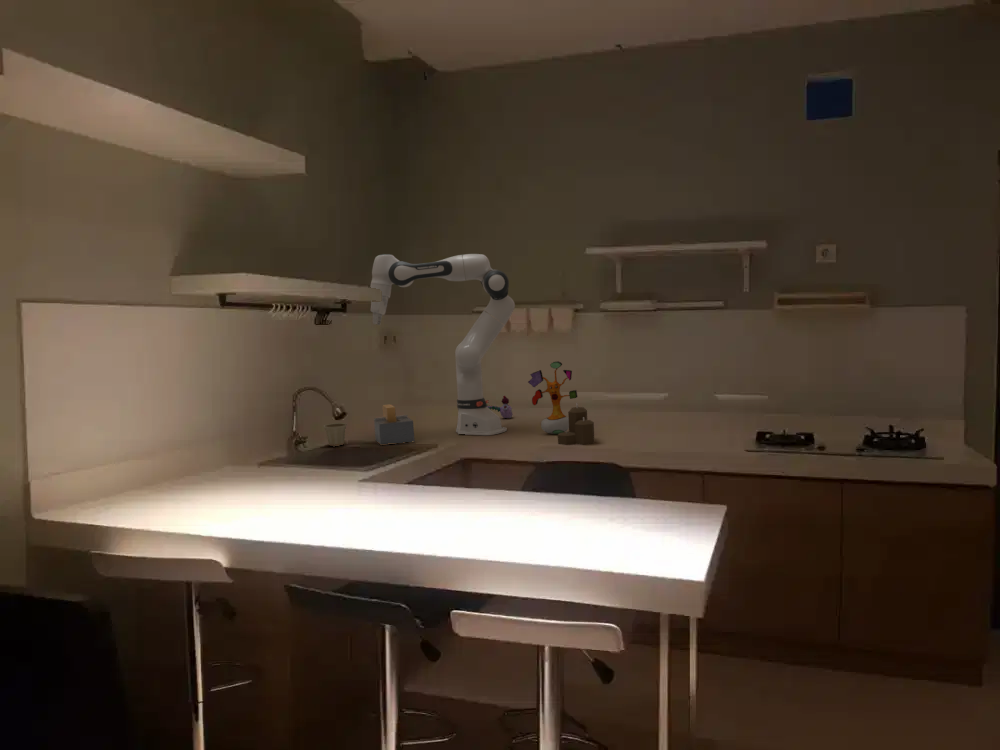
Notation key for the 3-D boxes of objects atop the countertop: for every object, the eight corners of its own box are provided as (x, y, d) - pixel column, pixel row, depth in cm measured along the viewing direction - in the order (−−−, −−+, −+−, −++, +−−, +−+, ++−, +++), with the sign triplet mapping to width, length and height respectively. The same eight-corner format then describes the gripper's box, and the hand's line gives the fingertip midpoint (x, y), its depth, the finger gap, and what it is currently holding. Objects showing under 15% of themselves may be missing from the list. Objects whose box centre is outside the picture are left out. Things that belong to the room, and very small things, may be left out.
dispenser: (375, 441, 353) (374, 418, 352) (408, 437, 358) (406, 414, 357) (380, 446, 342) (379, 422, 341) (414, 442, 346) (412, 418, 345)
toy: (504, 432, 390) (518, 403, 388) (476, 419, 389) (490, 390, 388) (505, 428, 400) (518, 400, 399) (477, 415, 400) (490, 387, 398)
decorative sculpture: (529, 435, 347) (525, 363, 344) (532, 432, 355) (529, 361, 352) (577, 435, 342) (574, 362, 339) (579, 431, 350) (576, 360, 347)
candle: (563, 438, 338) (561, 401, 337) (597, 438, 335) (595, 400, 333) (557, 445, 325) (555, 406, 324) (592, 445, 322) (590, 406, 320)
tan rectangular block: (384, 437, 362) (382, 405, 361) (392, 436, 363) (390, 404, 362) (389, 440, 353) (386, 407, 351) (397, 440, 354) (395, 407, 352)
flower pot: (335, 442, 355) (334, 422, 354) (353, 444, 350) (351, 423, 349) (320, 447, 347) (318, 426, 346) (337, 448, 342) (336, 427, 341)
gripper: (384, 291, 346) (380, 324, 347) (390, 294, 367) (386, 326, 367) (369, 289, 346) (365, 322, 347) (376, 292, 367) (372, 324, 367)
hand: (376, 324), depth 357 cm, fingers open, 8 cm apart
